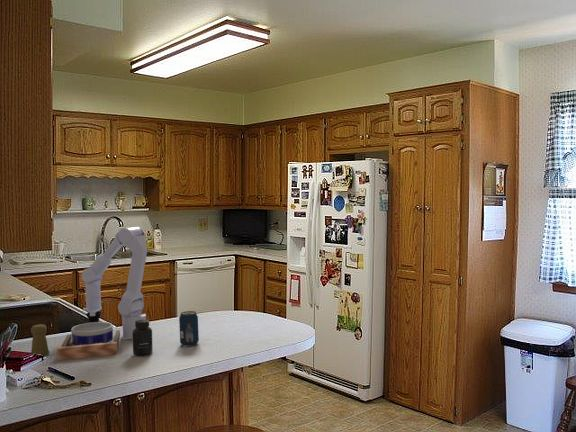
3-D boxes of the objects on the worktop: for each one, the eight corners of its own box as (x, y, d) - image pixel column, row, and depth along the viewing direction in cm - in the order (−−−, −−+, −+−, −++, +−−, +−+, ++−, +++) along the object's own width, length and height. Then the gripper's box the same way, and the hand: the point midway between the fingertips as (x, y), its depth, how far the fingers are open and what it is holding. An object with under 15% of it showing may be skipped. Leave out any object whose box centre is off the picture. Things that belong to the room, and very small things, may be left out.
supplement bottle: (142, 358, 192) (141, 324, 191) (129, 355, 196) (127, 322, 195) (157, 352, 198) (155, 319, 197) (143, 350, 201) (142, 317, 201)
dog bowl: (119, 341, 215) (118, 326, 214) (79, 349, 205) (78, 333, 205) (104, 334, 227) (104, 319, 226) (66, 341, 217) (65, 326, 217)
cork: (42, 357, 195) (40, 327, 195) (27, 357, 197) (25, 326, 196) (52, 352, 201) (51, 323, 201) (38, 352, 203) (36, 322, 202)
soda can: (191, 340, 213) (190, 309, 212) (202, 343, 208) (201, 312, 207) (176, 344, 208) (175, 313, 207) (187, 347, 203) (185, 315, 202)
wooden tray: (119, 334, 224) (119, 325, 224) (117, 354, 197) (116, 343, 197) (67, 339, 219) (67, 329, 219) (57, 360, 192) (56, 348, 192)
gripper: (84, 294, 231) (86, 326, 232) (81, 301, 217) (82, 335, 218) (102, 293, 233) (103, 325, 234) (99, 299, 219) (101, 333, 220)
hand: (94, 329), depth 226 cm, fingers closed
